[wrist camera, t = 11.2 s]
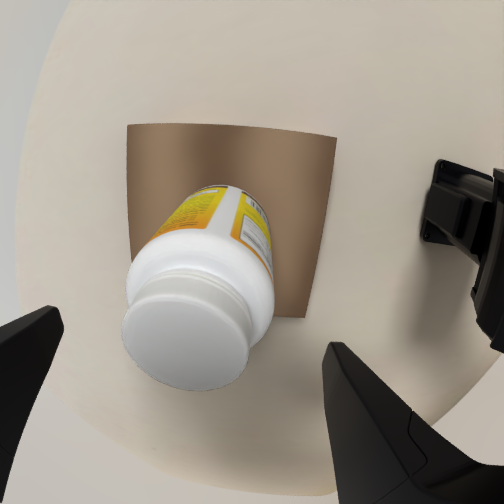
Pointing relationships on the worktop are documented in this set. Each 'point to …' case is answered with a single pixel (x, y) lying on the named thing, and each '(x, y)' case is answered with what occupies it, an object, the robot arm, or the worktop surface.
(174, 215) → the supplement bottle
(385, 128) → the worktop surface
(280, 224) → the walnut plinth
